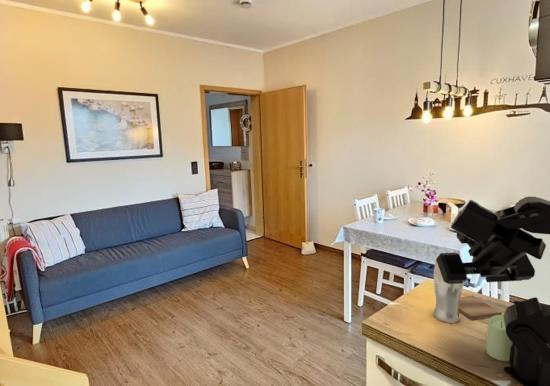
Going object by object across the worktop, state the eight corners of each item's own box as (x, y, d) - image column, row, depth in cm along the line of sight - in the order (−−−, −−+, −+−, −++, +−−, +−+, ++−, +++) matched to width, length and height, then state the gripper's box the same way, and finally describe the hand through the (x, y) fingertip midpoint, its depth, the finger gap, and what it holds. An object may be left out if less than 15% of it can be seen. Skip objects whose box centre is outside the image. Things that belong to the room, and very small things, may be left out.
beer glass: (459, 327, 86) (463, 269, 83) (429, 319, 89) (432, 264, 87) (462, 314, 91) (466, 260, 89) (434, 308, 95) (436, 256, 93)
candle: (499, 363, 72) (502, 327, 70) (480, 349, 76) (482, 315, 75) (519, 359, 73) (522, 323, 71) (499, 345, 78) (501, 311, 76)
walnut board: (501, 315, 90) (501, 312, 90) (471, 320, 88) (471, 316, 88) (472, 298, 100) (472, 295, 100) (445, 302, 98) (445, 299, 98)
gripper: (529, 214, 73) (492, 248, 85) (442, 218, 72) (417, 251, 85) (557, 262, 66) (512, 292, 79) (461, 267, 66) (432, 295, 78)
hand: (467, 281), depth 80 cm, fingers open, 9 cm apart
